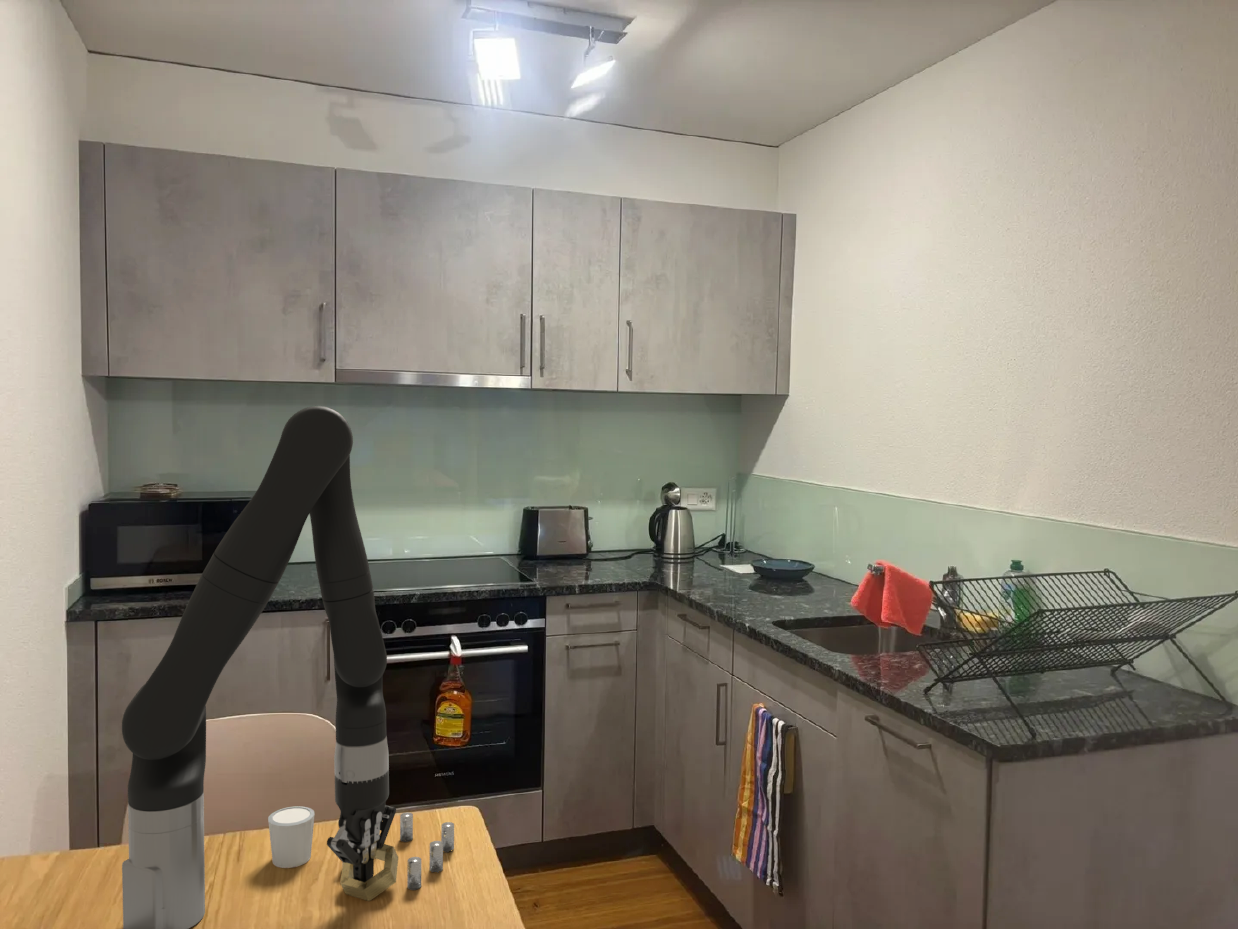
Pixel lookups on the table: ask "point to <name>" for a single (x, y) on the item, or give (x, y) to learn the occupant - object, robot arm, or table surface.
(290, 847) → the white cup
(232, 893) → the table surface
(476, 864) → the table surface
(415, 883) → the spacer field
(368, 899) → the tan hexagonal ring
